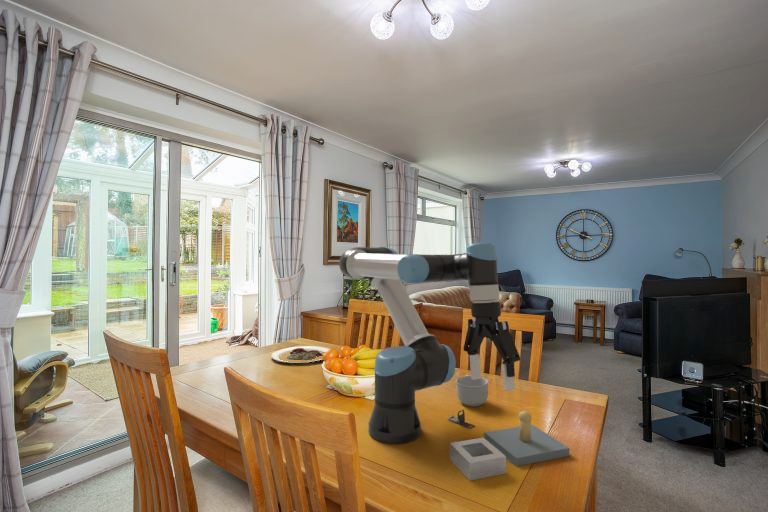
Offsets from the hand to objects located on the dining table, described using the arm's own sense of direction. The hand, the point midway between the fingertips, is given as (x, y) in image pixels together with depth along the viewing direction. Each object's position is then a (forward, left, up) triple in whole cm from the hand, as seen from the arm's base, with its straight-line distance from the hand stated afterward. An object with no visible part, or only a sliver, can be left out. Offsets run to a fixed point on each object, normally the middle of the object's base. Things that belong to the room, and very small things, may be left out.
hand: (491, 384), depth 98 cm
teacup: (+13, +32, -18) cm, 39 cm away
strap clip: (+1, +18, -18) cm, 25 cm away
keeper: (+10, 0, -18) cm, 20 cm away
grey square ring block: (-7, -4, -18) cm, 19 cm away
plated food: (-37, +107, -18) cm, 114 cm away
